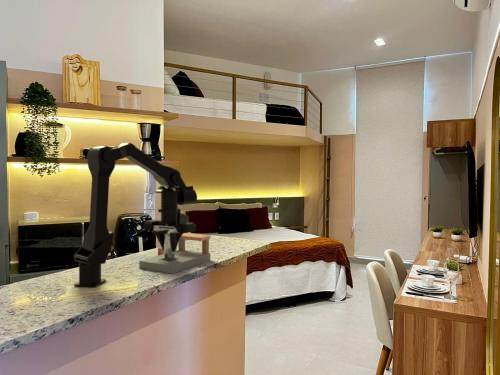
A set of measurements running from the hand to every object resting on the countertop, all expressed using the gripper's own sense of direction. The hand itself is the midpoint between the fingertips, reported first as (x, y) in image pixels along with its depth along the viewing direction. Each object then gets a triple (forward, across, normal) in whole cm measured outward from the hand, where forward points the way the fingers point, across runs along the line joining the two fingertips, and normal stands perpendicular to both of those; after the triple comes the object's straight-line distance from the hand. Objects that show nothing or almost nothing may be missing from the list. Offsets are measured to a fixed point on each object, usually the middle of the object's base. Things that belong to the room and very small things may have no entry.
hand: (169, 251), depth 129 cm
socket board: (+5, 0, -4) cm, 7 cm away
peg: (+2, 0, 0) cm, 2 cm away
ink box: (+6, +14, -17) cm, 23 cm away
